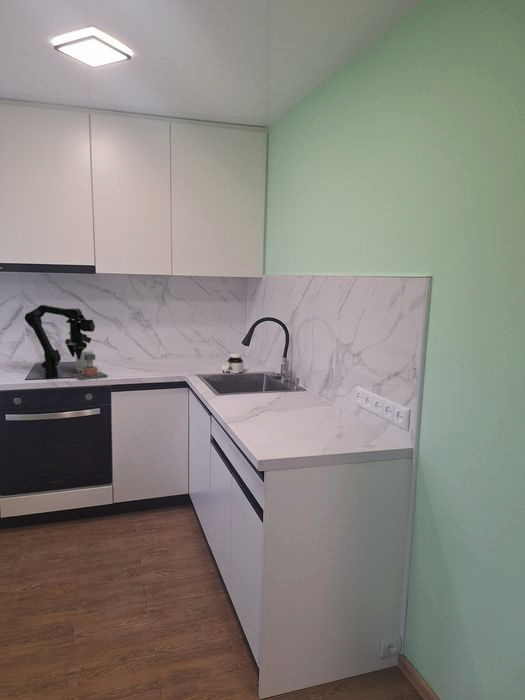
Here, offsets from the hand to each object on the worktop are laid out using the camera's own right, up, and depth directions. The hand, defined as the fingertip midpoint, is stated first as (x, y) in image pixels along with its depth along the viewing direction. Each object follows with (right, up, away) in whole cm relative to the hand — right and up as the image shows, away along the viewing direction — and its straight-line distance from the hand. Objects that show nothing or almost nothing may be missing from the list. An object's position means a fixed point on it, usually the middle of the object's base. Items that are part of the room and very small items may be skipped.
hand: (76, 358), depth 275 cm
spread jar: (+87, -10, +34) cm, 94 cm away
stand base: (+6, -11, +7) cm, 14 cm away
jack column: (+6, -5, +6) cm, 10 cm away
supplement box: (-4, -9, +24) cm, 26 cm away
